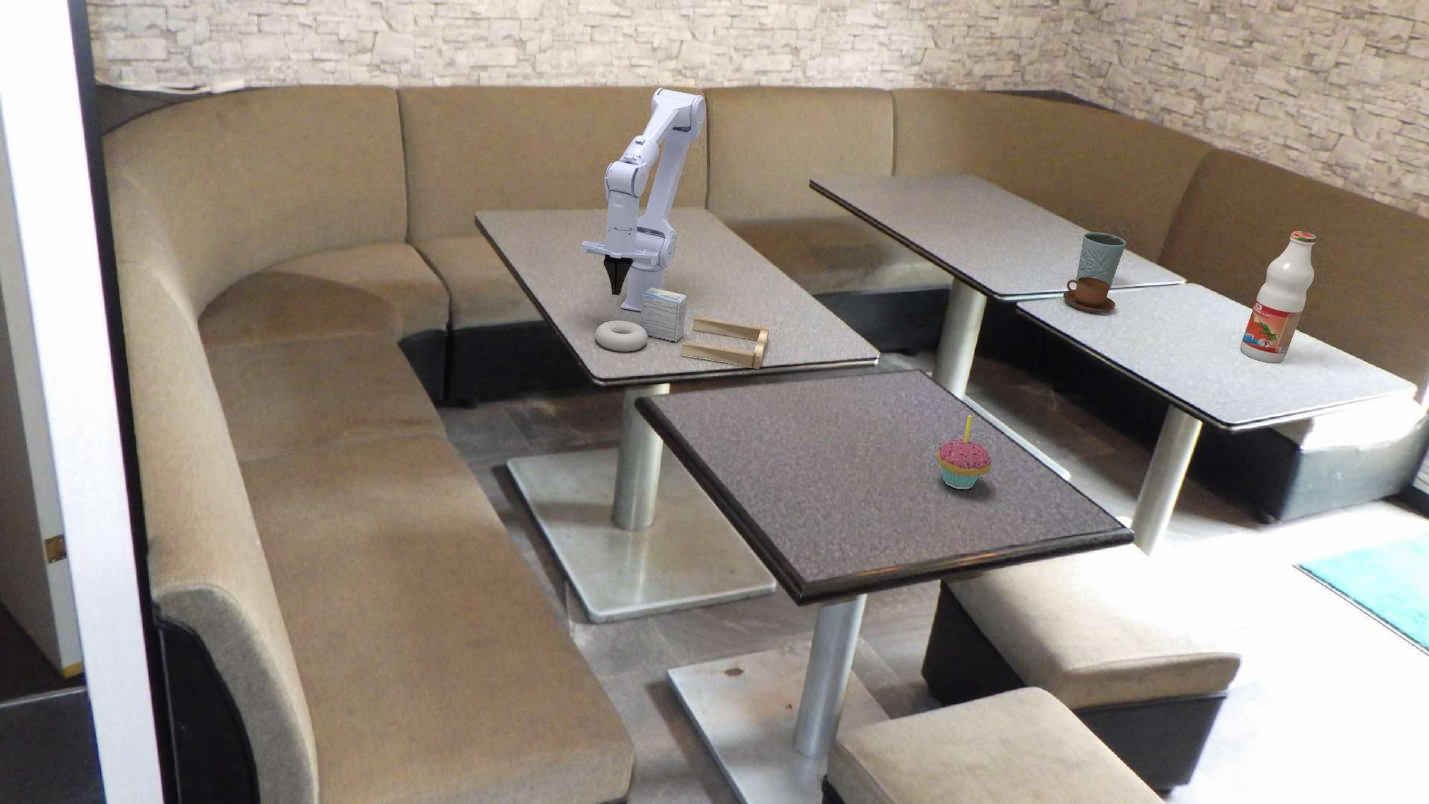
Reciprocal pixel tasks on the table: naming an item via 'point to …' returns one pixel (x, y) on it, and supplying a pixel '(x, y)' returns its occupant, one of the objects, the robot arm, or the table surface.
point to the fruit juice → (1280, 301)
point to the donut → (621, 335)
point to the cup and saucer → (1089, 295)
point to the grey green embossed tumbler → (1100, 256)
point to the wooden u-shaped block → (724, 353)
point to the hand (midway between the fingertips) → (616, 293)
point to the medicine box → (663, 314)
